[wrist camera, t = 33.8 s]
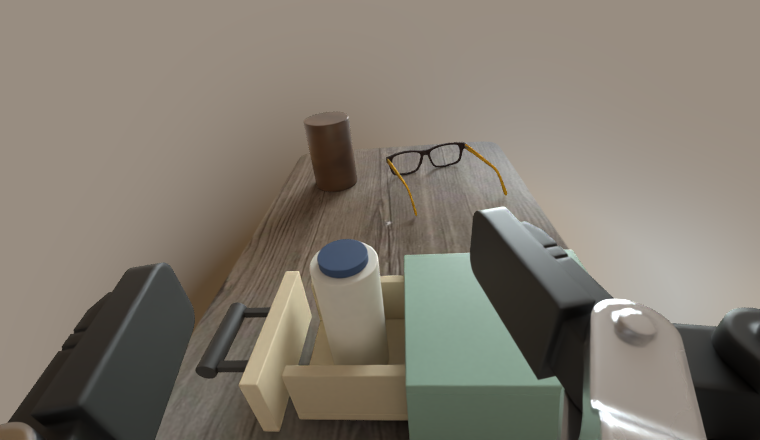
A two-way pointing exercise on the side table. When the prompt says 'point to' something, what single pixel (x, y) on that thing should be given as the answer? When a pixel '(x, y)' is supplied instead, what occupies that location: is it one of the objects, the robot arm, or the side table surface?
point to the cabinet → (467, 361)
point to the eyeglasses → (427, 152)
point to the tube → (351, 302)
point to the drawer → (311, 362)
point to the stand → (331, 150)
